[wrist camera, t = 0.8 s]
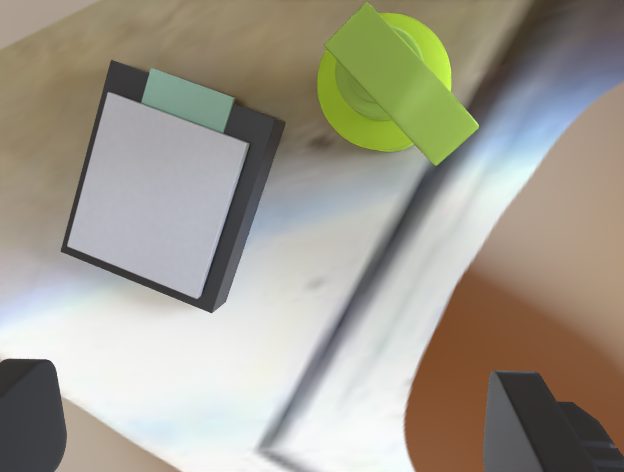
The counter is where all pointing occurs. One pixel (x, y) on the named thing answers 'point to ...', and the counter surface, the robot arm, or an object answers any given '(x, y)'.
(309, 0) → the counter surface
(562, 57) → the counter surface
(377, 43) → the soap dispenser
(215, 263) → the kitchen scale
